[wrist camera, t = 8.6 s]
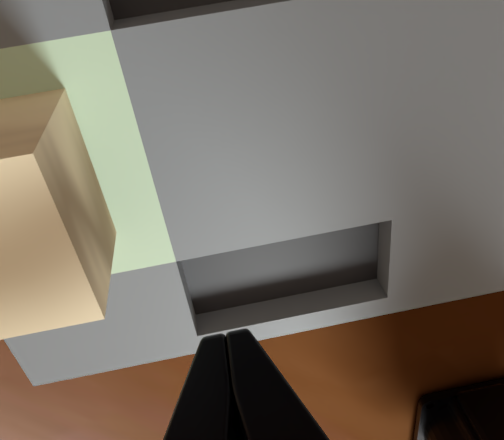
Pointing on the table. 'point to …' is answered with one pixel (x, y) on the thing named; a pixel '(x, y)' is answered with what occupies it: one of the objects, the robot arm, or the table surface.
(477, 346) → the table surface
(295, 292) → the board
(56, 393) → the table surface
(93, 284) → the maple block
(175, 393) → the table surface
